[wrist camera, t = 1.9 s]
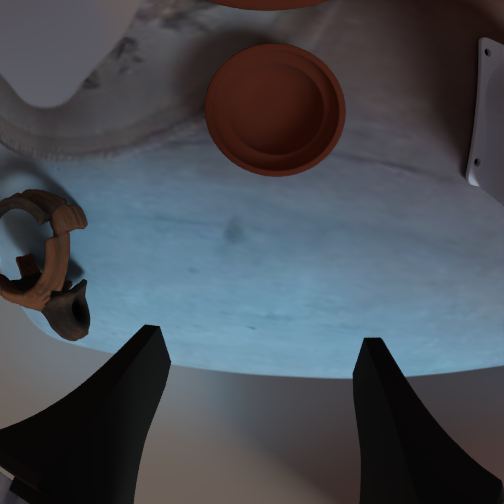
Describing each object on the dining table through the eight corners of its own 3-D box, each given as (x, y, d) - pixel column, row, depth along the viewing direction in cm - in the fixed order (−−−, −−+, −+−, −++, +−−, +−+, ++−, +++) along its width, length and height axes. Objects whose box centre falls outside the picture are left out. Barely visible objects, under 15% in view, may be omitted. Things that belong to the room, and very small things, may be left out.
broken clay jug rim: (11, 235, 23) (-44, 238, 15) (78, 172, 24) (30, 152, 16) (75, 341, 25) (34, 377, 16) (150, 286, 25) (123, 310, 17)
